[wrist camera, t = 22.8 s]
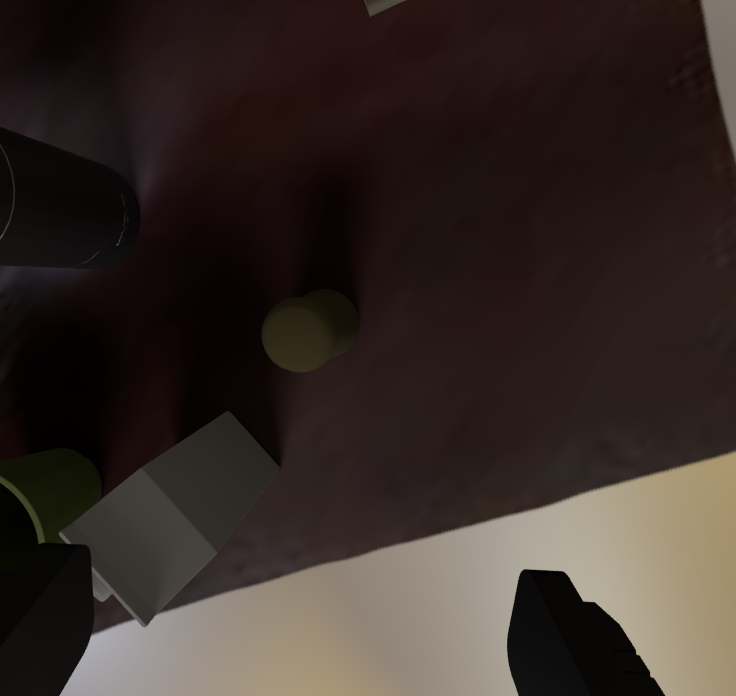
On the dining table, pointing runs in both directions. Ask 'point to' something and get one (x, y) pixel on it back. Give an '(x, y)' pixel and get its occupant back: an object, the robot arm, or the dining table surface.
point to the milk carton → (172, 516)
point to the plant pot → (42, 500)
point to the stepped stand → (379, 5)
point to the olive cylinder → (310, 330)
